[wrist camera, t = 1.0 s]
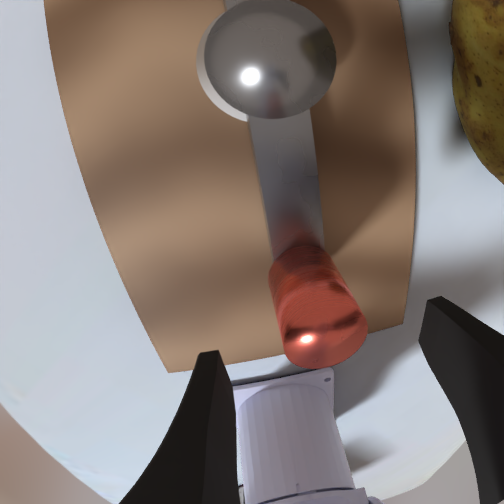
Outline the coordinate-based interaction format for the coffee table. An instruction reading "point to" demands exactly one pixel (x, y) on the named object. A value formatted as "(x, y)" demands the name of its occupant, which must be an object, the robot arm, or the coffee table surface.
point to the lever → (288, 166)
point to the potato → (480, 77)
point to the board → (231, 168)
